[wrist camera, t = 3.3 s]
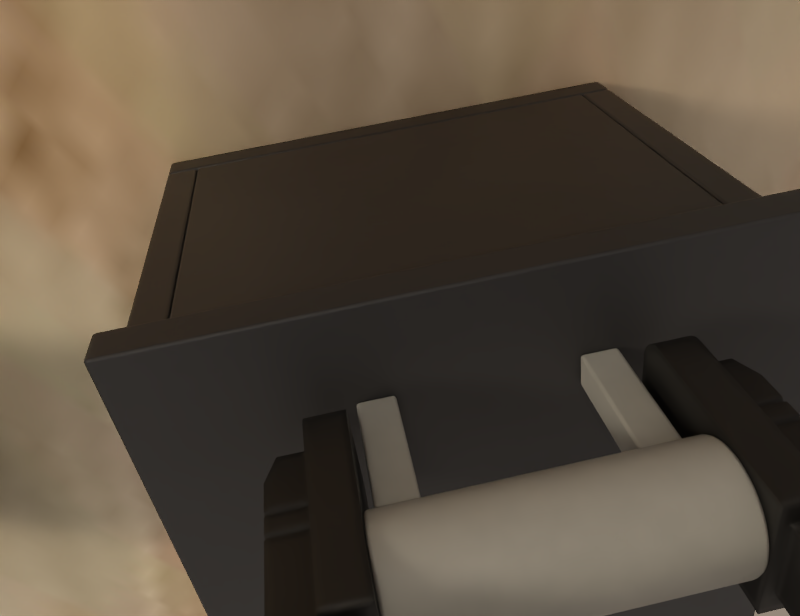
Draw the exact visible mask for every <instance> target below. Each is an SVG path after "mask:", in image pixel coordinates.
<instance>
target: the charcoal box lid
mask: <svg viewBox="0 0 800 616" xmlns="http://www.w3.org/2000/svg"><path fill="white" fill-rule="evenodd" d="M686 336H695V337H697V338H698V339H699V340H700V341H701V342H702V343H703V344H704V345H705V346H706V347H707V349H708V350H709V351H710V352H711V353H712V354H713V355H714V356H715V357H716V359H717V360H718V361H722V360H726V359H731V358H732V359H734V360H736V361H737V362H739V363H741V364H743V365H745V366H747V367H748V368H750V369H752V370H754V371H756V372H757V373H759V374H761V375H762V376H763V377H764V378H765V379H766V380H767V381H768V382H769V383H770V384H771V385H772V386H773V387H774V388H775V389H776V390H777V391H778V392H779V393H780V395H781V396H782V397H783V401H784V402H786V401H787V402H788V403H789V404H790V405H791V406H792V407H793V408H794V409H795V410H796V411H797V412H798V413H799V415H800V189H797V190H792V191H787V192H782V193H777V194H772V195H767V196H763V197H758V198H753V199H748V200H743V201H738V202H733V203H728V204H724V205H719V206H714V207H709V208H704V209H699V210H694V211H690V212H685V213H680V214H675V215H670V216H665V217H660V218H655V219H651V220H646V221H641V222H636V223H631V224H626V225H621V226H616V227H612V228H607V229H602V230H597V231H592V232H587V233H582V234H578V235H573V236H568V237H563V238H558V239H553V240H548V241H543V242H539V243H534V244H529V245H524V246H519V247H514V248H509V249H504V250H500V251H495V252H490V253H485V254H480V255H475V256H470V257H466V258H461V259H456V260H451V261H446V262H441V263H436V264H431V265H427V266H422V267H417V268H412V269H407V270H402V271H397V272H392V273H388V274H383V275H378V276H373V277H368V278H363V279H358V280H354V281H349V282H344V283H339V284H334V285H329V286H324V287H319V288H315V289H310V290H305V291H300V292H295V293H290V294H285V295H280V296H276V297H271V298H266V299H261V300H256V301H251V302H246V303H242V304H237V305H232V306H227V307H222V308H217V309H212V310H207V311H203V312H198V313H193V314H188V315H183V316H178V317H173V318H168V319H164V320H159V321H154V322H149V323H144V324H139V325H134V326H130V327H125V328H120V329H115V330H110V331H105V332H100V333H96V334H94V335H93V336H92V339H91V342H90V345H89V348H88V350H87V353H86V356H85V359H84V363H85V365H86V368H87V370H88V372H89V374H90V376H91V378H92V380H93V382H94V384H95V386H96V388H97V390H98V392H99V394H100V396H101V398H102V400H103V402H104V404H105V406H106V408H107V410H108V412H109V415H110V417H111V419H112V421H113V423H114V425H115V427H116V429H117V431H118V433H119V435H120V437H121V439H122V441H123V443H124V445H125V447H126V449H127V451H128V453H129V455H130V457H131V460H132V462H133V464H134V466H135V468H136V470H137V472H138V474H139V476H140V478H141V480H142V482H143V484H144V486H145V488H146V490H147V492H148V494H149V496H150V498H151V500H152V502H153V505H154V507H155V509H156V511H157V513H158V515H159V517H160V519H161V521H162V523H163V525H164V527H165V529H166V531H167V533H168V535H169V537H170V539H171V541H172V543H173V545H174V547H175V549H176V552H177V554H178V556H179V558H180V560H181V562H182V564H183V566H184V568H185V570H186V572H187V574H188V576H189V578H190V580H191V582H192V584H193V586H194V588H195V590H196V592H197V594H198V597H199V599H200V601H201V603H202V605H203V607H204V609H205V611H206V613H207V615H208V616H265V614H264V541H265V537H264V517H265V516H264V482H265V480H266V478H267V476H268V474H269V472H270V469H271V467H272V465H273V463H274V461H275V459H276V457H280V456H285V455H289V454H294V453H298V452H303V451H304V440H303V427H302V420H303V419H304V418H308V417H313V416H317V415H322V414H327V413H331V412H336V411H340V410H345V409H346V411H347V415H348V418H349V423H350V427H351V431H352V435H353V439H354V443H355V448H356V452H357V456H358V460H359V464H360V468H361V473H362V477H363V481H364V486H365V491H366V496H367V501H368V507H369V509H368V510H366V511H365V512H364V515H363V520H364V529H365V536H366V543H367V549H368V555H369V561H370V566H371V572H372V577H373V583H374V588H375V593H376V598H377V603H378V608H379V613H380V616H754V612H755V609H754V607H753V606H752V604H751V603H750V601H749V600H748V598H747V597H746V595H745V593H744V592H743V590H742V589H741V587H740V586H739V583H743V582H748V581H752V580H755V579H757V578H758V577H760V576H761V575H762V574H763V573H764V571H765V569H766V567H767V564H768V560H769V536H768V529H767V524H766V519H765V516H764V512H763V509H762V506H761V503H760V500H759V497H758V495H757V492H756V490H755V488H754V485H753V483H752V481H751V479H750V477H749V475H748V474H747V472H746V470H745V468H744V467H743V465H742V463H741V462H740V461H739V459H738V458H737V456H736V455H735V454H734V453H733V451H732V450H731V449H730V448H729V447H728V446H727V445H726V444H725V443H724V442H722V441H721V440H720V439H718V438H716V437H714V436H711V435H707V434H700V435H696V436H691V437H687V438H683V439H682V438H681V436H680V435H679V434H678V432H677V431H676V429H675V428H674V427H673V425H672V424H671V422H670V421H669V420H668V418H667V417H666V415H665V414H664V413H663V411H662V410H661V408H660V407H659V406H658V404H657V403H656V401H655V400H654V399H653V397H652V396H651V394H650V393H649V392H648V390H647V389H646V387H645V386H644V385H643V383H642V376H643V361H644V352H645V349H646V347H647V346H648V345H650V344H654V343H658V342H663V341H668V340H672V339H677V338H682V337H686Z"/></svg>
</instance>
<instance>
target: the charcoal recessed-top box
mask: <svg viewBox="0 0 800 616" xmlns="http://www.w3.org/2000/svg"><path fill="white" fill-rule="evenodd" d="M758 197H762V196H760V195H759V194H757V193H756V192H754V191H753V190H752V189H750V188H749V187H747V186H746V185H744V184H743V183H741V182H740V181H739V180H737V179H736V178H734V177H733V176H731V175H730V174H729V173H727V172H726V171H724V170H723V169H721V168H720V167H719V166H717V165H716V164H714V163H713V162H711V161H710V160H708V159H707V158H706V157H704V156H703V155H701V154H700V153H698V152H697V151H696V150H694V149H693V148H691V147H690V146H688V145H687V144H686V143H684V142H683V141H681V140H680V139H678V138H677V137H675V136H674V135H673V134H671V133H670V132H668V131H667V130H665V129H664V128H663V127H661V126H660V125H658V124H657V123H655V122H654V121H653V120H651V119H650V118H648V117H647V116H645V115H644V114H642V113H641V112H640V111H638V110H637V109H635V108H634V107H632V106H631V105H630V104H628V103H627V102H625V101H624V100H622V99H621V98H620V97H618V96H617V95H615V94H614V93H612V92H611V91H609V90H607V88H605V87H604V86H602V85H601V84H599V83H598V82H594V83H589V84H584V85H579V86H574V87H568V88H563V89H558V90H553V91H548V92H542V93H537V94H532V95H527V96H522V97H516V98H511V99H506V100H501V101H496V102H490V103H485V104H480V105H475V106H470V107H464V108H459V109H454V110H449V111H444V112H438V113H433V114H428V115H423V116H418V117H412V118H407V119H402V120H397V121H392V122H386V123H381V124H376V125H371V126H366V127H361V128H355V129H350V130H345V131H340V132H335V133H329V134H324V135H319V136H314V137H309V138H303V139H298V140H293V141H288V142H283V143H277V144H272V145H267V146H262V147H257V148H251V149H246V150H241V151H236V152H231V153H225V154H220V155H215V156H210V157H205V158H199V159H194V160H189V161H184V162H179V163H174V164H172V166H171V169H170V173H169V176H168V180H167V184H166V187H165V191H164V194H163V198H162V202H161V205H160V209H159V213H158V216H157V220H156V223H155V227H154V231H153V234H152V238H151V241H150V245H149V249H148V252H147V256H146V260H145V263H144V267H143V270H142V274H141V278H140V281H139V285H138V289H137V292H136V296H135V299H134V303H133V307H132V310H131V314H130V317H129V321H128V325H127V327H130V326H134V325H139V324H144V323H149V322H154V321H159V320H164V319H168V318H173V317H178V316H183V315H188V314H193V313H198V312H203V311H207V310H212V309H217V308H222V307H227V306H232V305H237V304H242V303H246V302H251V301H256V300H261V299H266V298H271V297H276V296H280V295H285V294H290V293H295V292H300V291H305V290H310V289H315V288H319V287H324V286H329V285H334V284H339V283H344V282H349V281H354V280H358V279H363V278H368V277H373V276H378V275H383V274H388V273H392V272H397V271H402V270H407V269H412V268H417V267H422V266H427V265H431V264H436V263H441V262H446V261H451V260H456V259H461V258H466V257H470V256H475V255H480V254H485V253H490V252H495V251H500V250H504V249H509V248H514V247H519V246H524V245H529V244H534V243H539V242H543V241H548V240H553V239H558V238H563V237H568V236H573V235H578V234H582V233H587V232H592V231H597V230H602V229H607V228H612V227H616V226H621V225H626V224H631V223H636V222H641V221H646V220H651V219H655V218H660V217H665V216H670V215H675V214H680V213H685V212H690V211H694V210H699V209H704V208H709V207H714V206H719V205H724V204H728V203H733V202H738V201H743V200H748V199H753V198H758Z"/></svg>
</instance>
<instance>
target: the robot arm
mask: <svg viewBox="0 0 800 616" xmlns="http://www.w3.org/2000/svg"><path fill="white" fill-rule="evenodd" d="M642 383H643V385H644V386H645V387H646V389H647V390H648V392H649V393H650V394H651V396H652V397H653V399H654V400H655V401H656V403H657V404H658V406H659V407H660V408H661V410H662V411H663V413H664V414H665V415H666V417H667V418H668V420H669V421H670V422H671V424H672V425H673V427H674V428H675V429H676V431H677V432H678V434H679V435H680V436H681V438H682V439H683V438H687V437H691V436H696V435H700V434H707V435H711V436H714V437H716V438H718V439H720V440H721V441H722V442H724V443H725V444H726V445H727V446H728V447H729V448H730V449H731V450H732V451H733V453H734V454H735V455H736V456H737V458H738V459H739V461H740V462H741V463H742V465H743V467H744V468H745V470H746V472H747V474H748V475H749V477H750V479H751V481H752V483H753V485H754V488H755V490H756V492H757V495H758V497H759V500H760V503H761V506H762V509H763V512H764V516H765V519H766V524H767V529H768V536H769V560H768V564H767V567H766V569H765V571H764V573H763V574H762V575H761V576H760V577H758V578H757V579H755V580H752V581H748V582H743V583H739V586H740V587H741V589H742V590H743V592H744V593H745V595H746V597H747V598H748V600H749V601H750V603H751V604H752V606H753V607H754V609H755V610H756V612H757V613H758V614H760V613H764V612H768V611H773V610H776V609H781V608H785V609H786V610H787V612H788V613H789V615H790V616H800V415H799V413H798V412H797V411H796V410H795V409H794V408H793V407H792V406H791V405H790V404H789V403H788V402H787V401H786V402H784V401H783V397H782V396H781V395H780V393H779V392H778V391H777V390H776V389H775V388H774V387H773V386H772V385H771V384H770V383H769V382H768V381H767V380H766V379H765V378H764V377H763V376H762V375H761V374H759V373H757V372H756V371H754V370H752V369H750V368H748V367H747V366H745V365H743V364H741V363H739V362H737V361H736V360H734V359H732V358H731V359H726V360H722V361H718V360H717V359H716V357H715V356H714V355H713V354H712V353H711V352H710V351H709V350H708V349H707V347H706V346H705V345H704V344H703V343H702V342H701V341H700V340H699V339H698V338H697V337H695V336H686V337H682V338H677V339H672V340H668V341H663V342H658V343H654V344H650V345H648V346H647V347H646V349H645V352H644V361H643V376H642ZM302 427H303V440H304V451H303V452H298V453H294V454H289V455H285V456H280V457H276V459H275V461H274V463H273V465H272V467H271V469H270V472H269V474H268V476H267V478H266V480H265V482H264V516H265V517H264V537H265V541H264V614H265V616H380V613H379V608H378V603H377V598H376V593H375V588H374V583H373V577H372V572H371V566H370V561H369V555H368V549H367V543H366V536H365V529H364V520H363V515H364V512H365V511H366V510H368V509H369V507H368V501H367V496H366V491H365V486H364V481H363V477H362V473H361V468H360V464H359V460H358V456H357V452H356V448H355V443H354V439H353V435H352V431H351V427H350V423H349V418H348V415H347V411H346V409H345V410H340V411H336V412H331V413H327V414H322V415H317V416H313V417H308V418H304V419H303V420H302Z"/></svg>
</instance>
